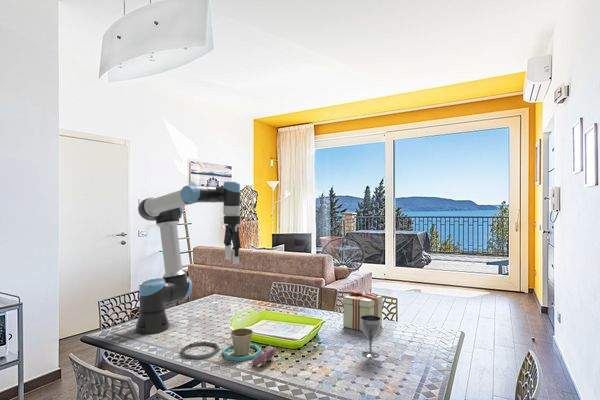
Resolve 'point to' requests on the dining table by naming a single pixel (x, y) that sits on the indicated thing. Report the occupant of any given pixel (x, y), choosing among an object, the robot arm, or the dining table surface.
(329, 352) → the dining table surface
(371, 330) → the wine glass
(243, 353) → the flower pot
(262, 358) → the pink toy animal
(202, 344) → the collar
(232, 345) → the collar
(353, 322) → the gift box
